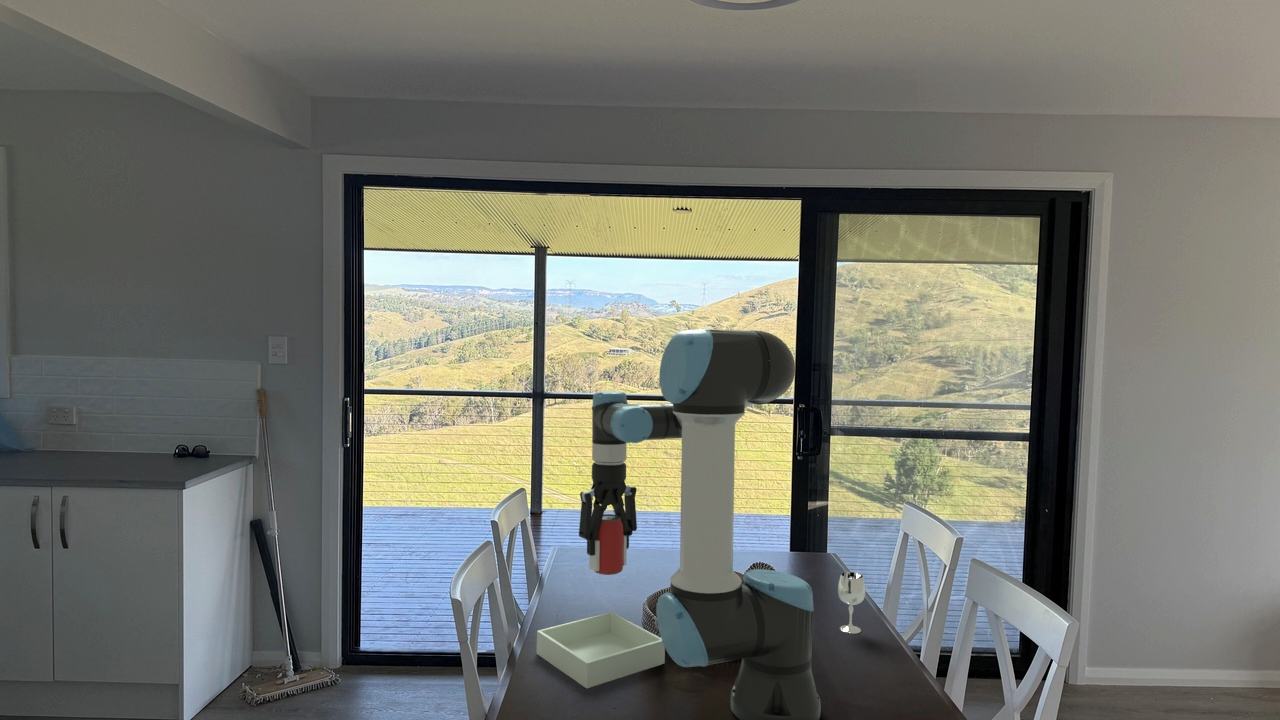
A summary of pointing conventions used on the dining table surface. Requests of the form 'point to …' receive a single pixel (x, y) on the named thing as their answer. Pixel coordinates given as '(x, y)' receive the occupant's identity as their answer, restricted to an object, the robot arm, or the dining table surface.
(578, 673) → the bin
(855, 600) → the wineglass
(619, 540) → the beer can
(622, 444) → the robot arm
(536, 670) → the dining table surface
